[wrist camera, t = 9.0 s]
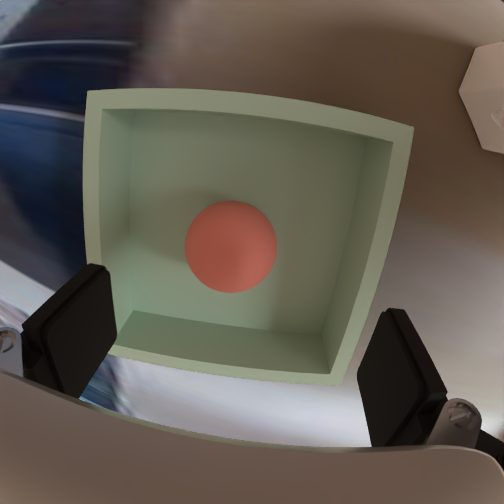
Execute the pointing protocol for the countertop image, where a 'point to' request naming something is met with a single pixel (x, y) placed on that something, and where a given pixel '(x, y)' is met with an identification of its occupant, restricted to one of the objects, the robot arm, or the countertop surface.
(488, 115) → the jar
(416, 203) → the countertop surface
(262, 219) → the tomato ball
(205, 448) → the robot arm
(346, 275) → the green bin
